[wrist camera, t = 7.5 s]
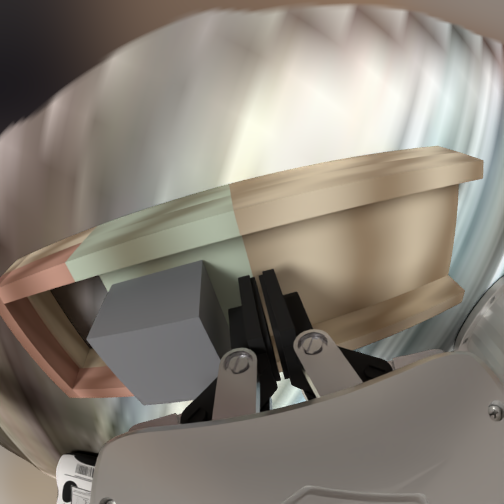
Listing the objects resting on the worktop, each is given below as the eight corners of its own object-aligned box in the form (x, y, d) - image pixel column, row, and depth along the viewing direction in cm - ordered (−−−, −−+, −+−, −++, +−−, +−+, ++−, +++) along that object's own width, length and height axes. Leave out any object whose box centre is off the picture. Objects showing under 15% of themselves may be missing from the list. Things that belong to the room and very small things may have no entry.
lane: (437, 146, 13) (483, 160, 10) (430, 271, 18) (461, 302, 14) (17, 259, 13) (-14, 292, 10) (83, 358, 18) (69, 397, 14)
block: (202, 259, 13) (198, 316, 9) (231, 334, 15) (237, 392, 11) (111, 284, 13) (86, 339, 9) (152, 350, 15) (143, 405, 11)
